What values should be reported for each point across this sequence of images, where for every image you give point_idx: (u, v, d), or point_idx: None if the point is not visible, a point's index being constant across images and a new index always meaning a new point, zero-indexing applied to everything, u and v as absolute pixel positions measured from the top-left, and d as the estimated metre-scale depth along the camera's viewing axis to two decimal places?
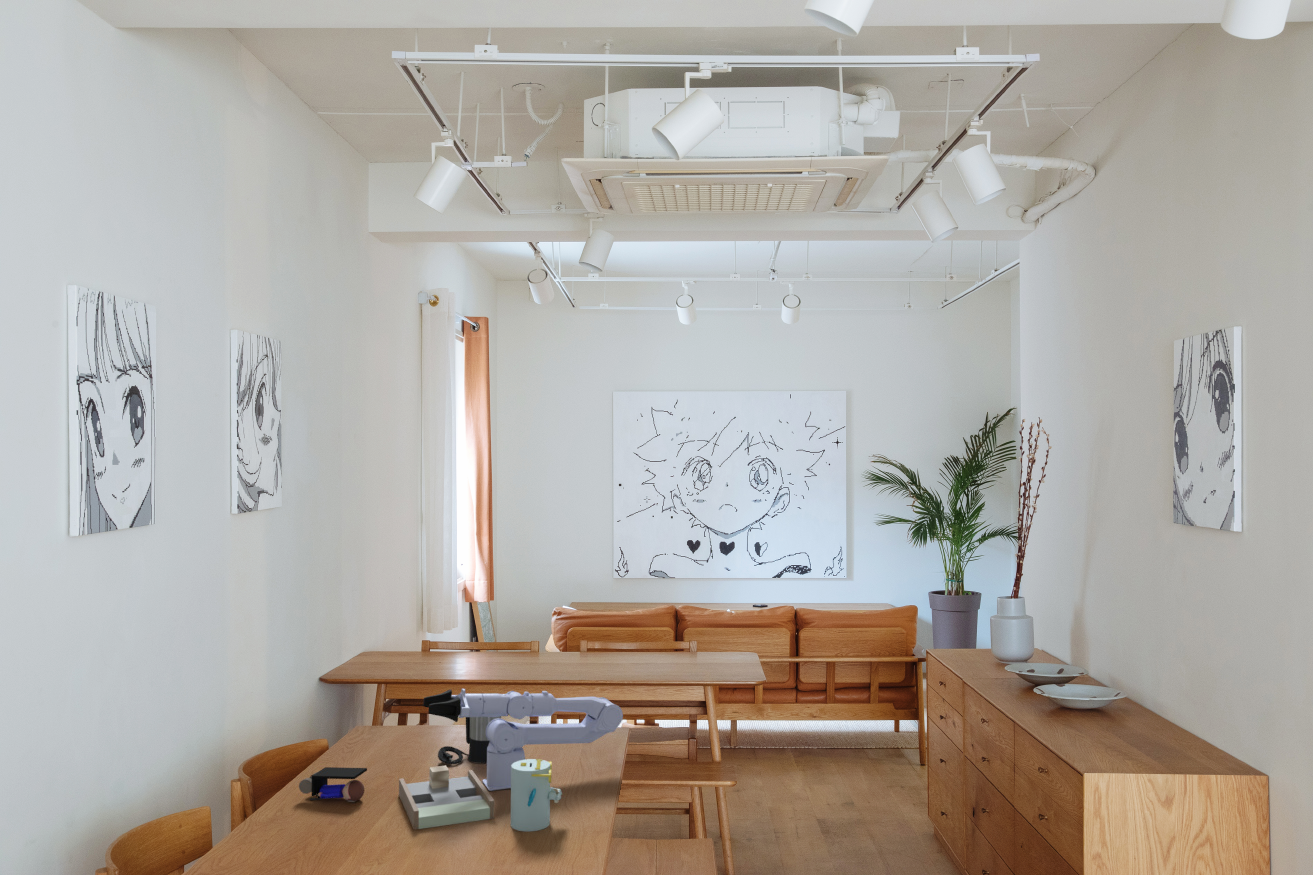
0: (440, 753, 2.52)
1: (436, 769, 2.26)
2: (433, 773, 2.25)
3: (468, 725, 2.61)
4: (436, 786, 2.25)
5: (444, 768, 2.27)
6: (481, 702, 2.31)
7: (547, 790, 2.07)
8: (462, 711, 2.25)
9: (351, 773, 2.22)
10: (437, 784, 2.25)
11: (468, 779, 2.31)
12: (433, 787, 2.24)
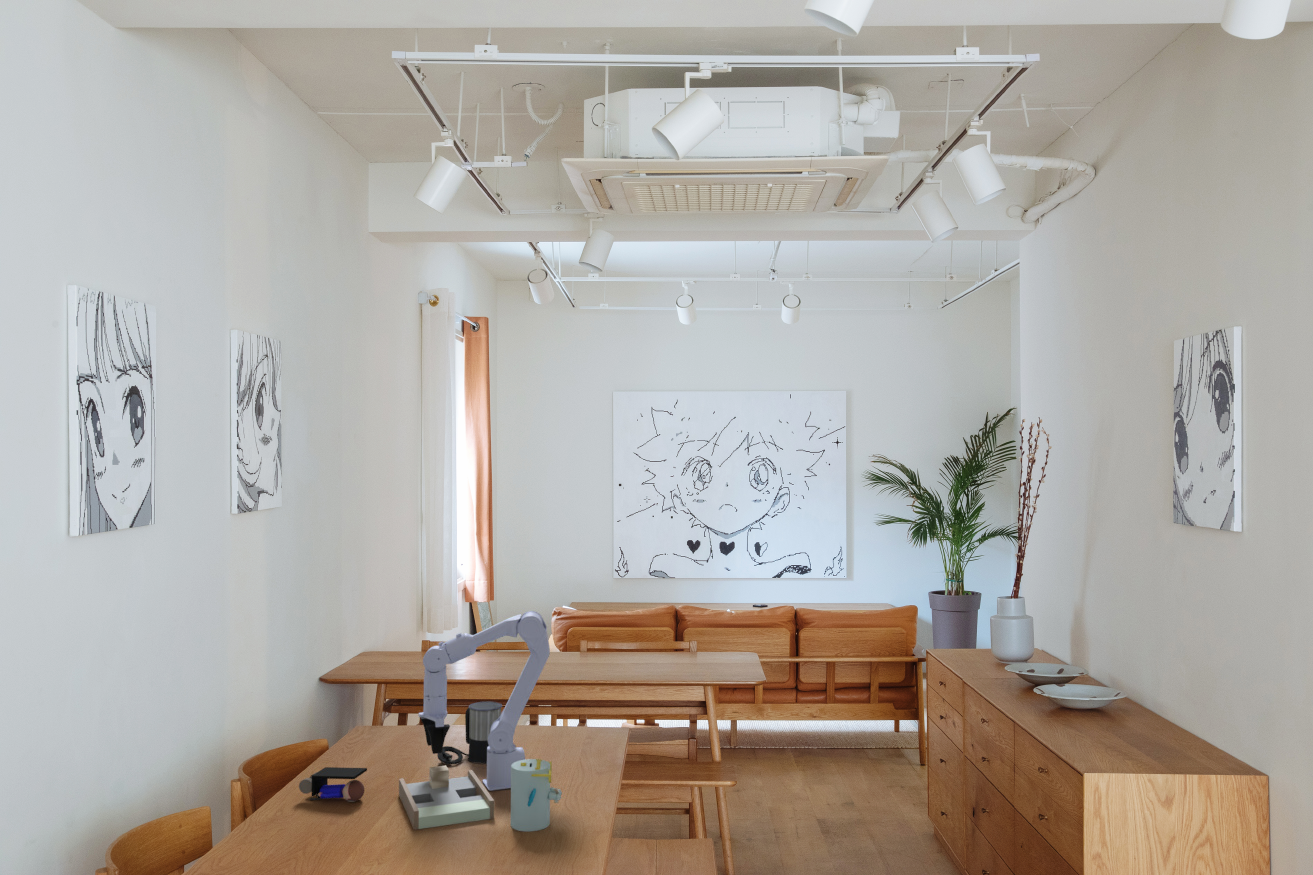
0: (440, 753, 2.52)
1: (436, 769, 2.26)
2: (433, 773, 2.25)
3: (468, 725, 2.61)
4: (436, 786, 2.25)
5: (444, 768, 2.27)
6: (432, 698, 2.31)
7: (547, 790, 2.07)
8: (439, 725, 2.27)
9: (351, 773, 2.22)
10: (437, 784, 2.25)
11: (468, 779, 2.31)
12: (433, 787, 2.24)
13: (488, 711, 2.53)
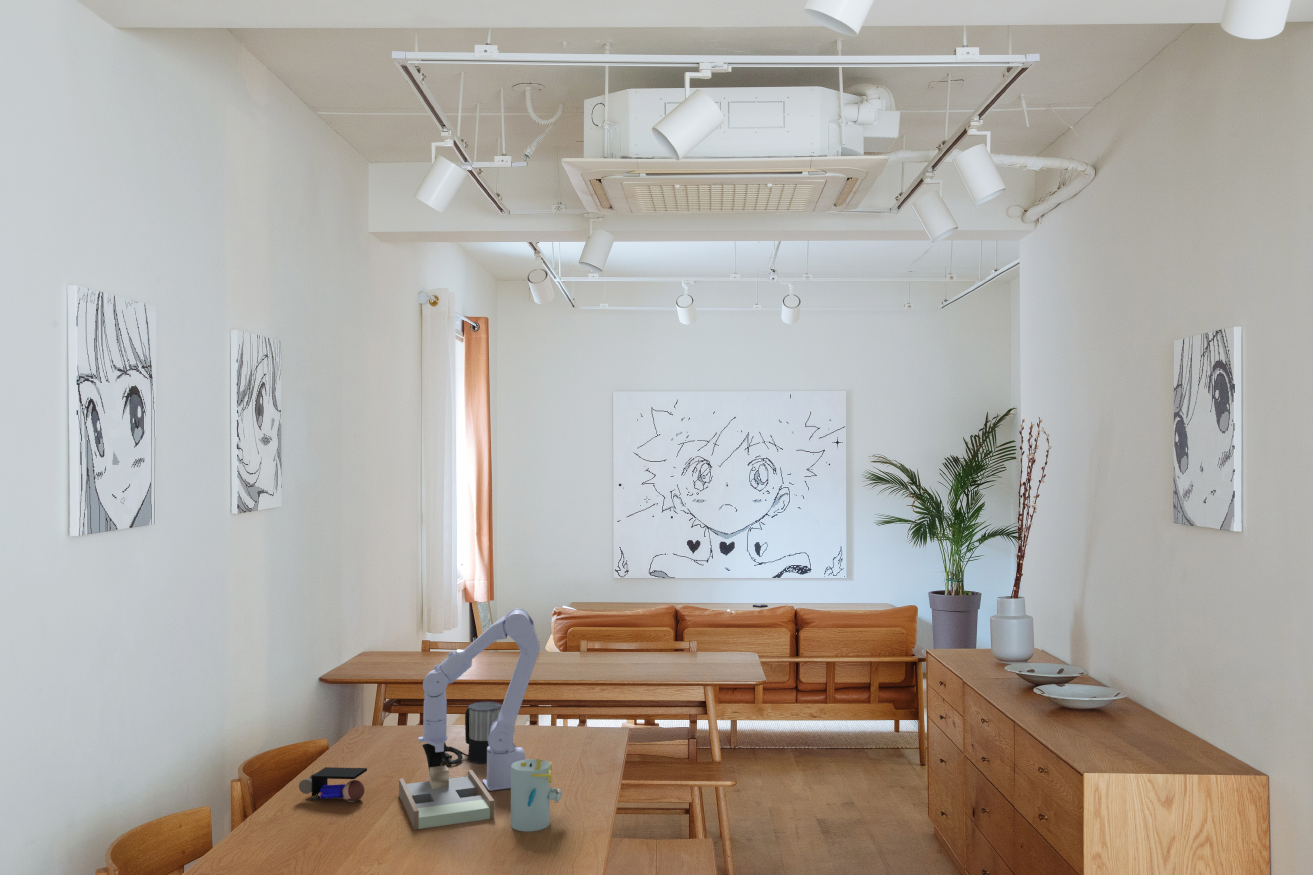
0: None
1: (436, 769, 2.26)
2: (433, 773, 2.25)
3: (467, 725, 2.61)
4: (436, 786, 2.25)
5: (444, 768, 2.27)
6: (431, 723, 2.31)
7: (547, 790, 2.07)
8: (439, 750, 2.27)
9: (351, 773, 2.22)
10: (437, 784, 2.25)
11: (468, 779, 2.31)
12: (433, 787, 2.24)
13: (488, 711, 2.53)
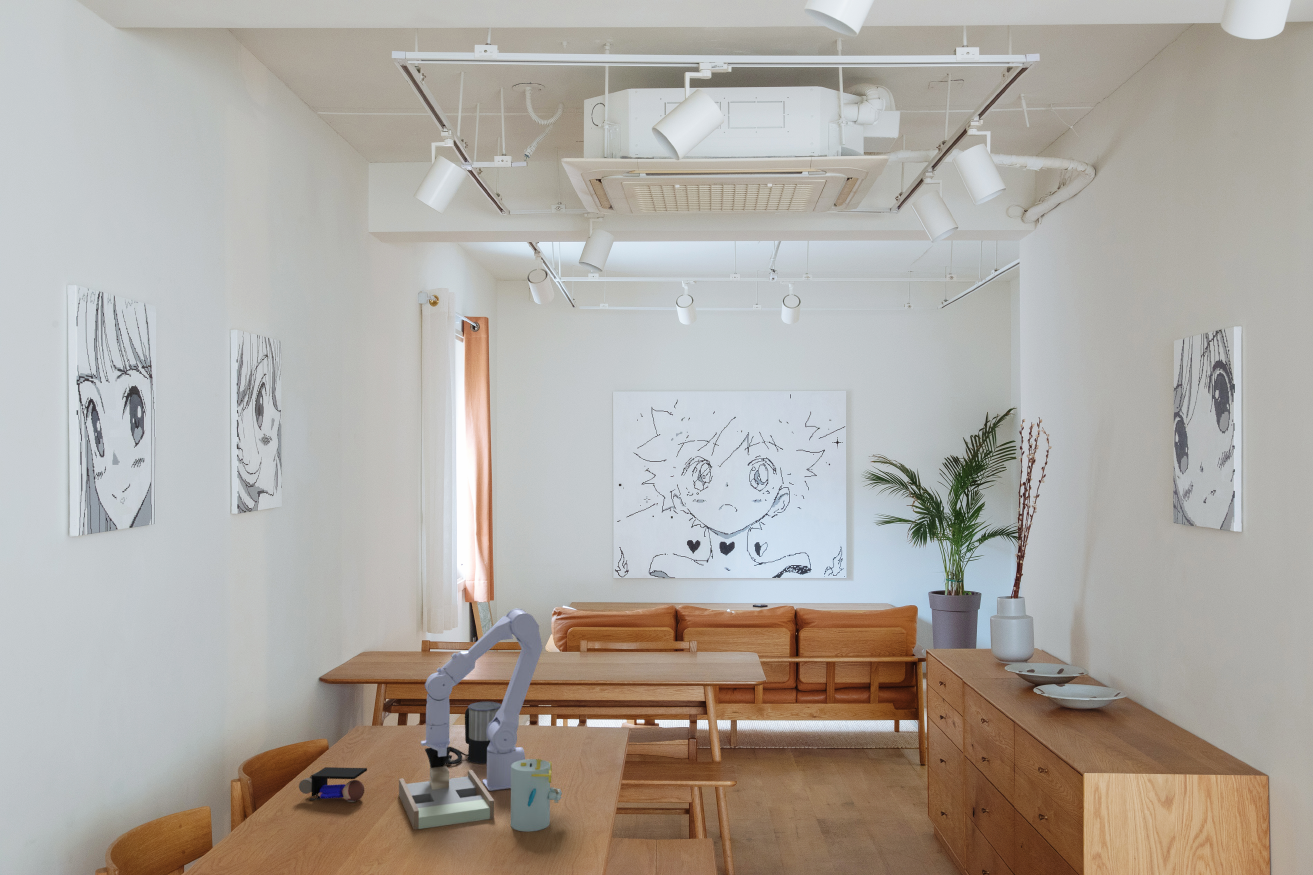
0: None
1: (436, 770, 2.26)
2: (433, 774, 2.24)
3: (467, 725, 2.61)
4: (436, 787, 2.24)
5: (445, 768, 2.27)
6: (434, 727, 2.27)
7: (547, 790, 2.07)
8: (442, 755, 2.23)
9: (351, 773, 2.22)
10: (437, 785, 2.24)
11: (468, 779, 2.31)
12: (433, 788, 2.24)
13: (488, 711, 2.53)
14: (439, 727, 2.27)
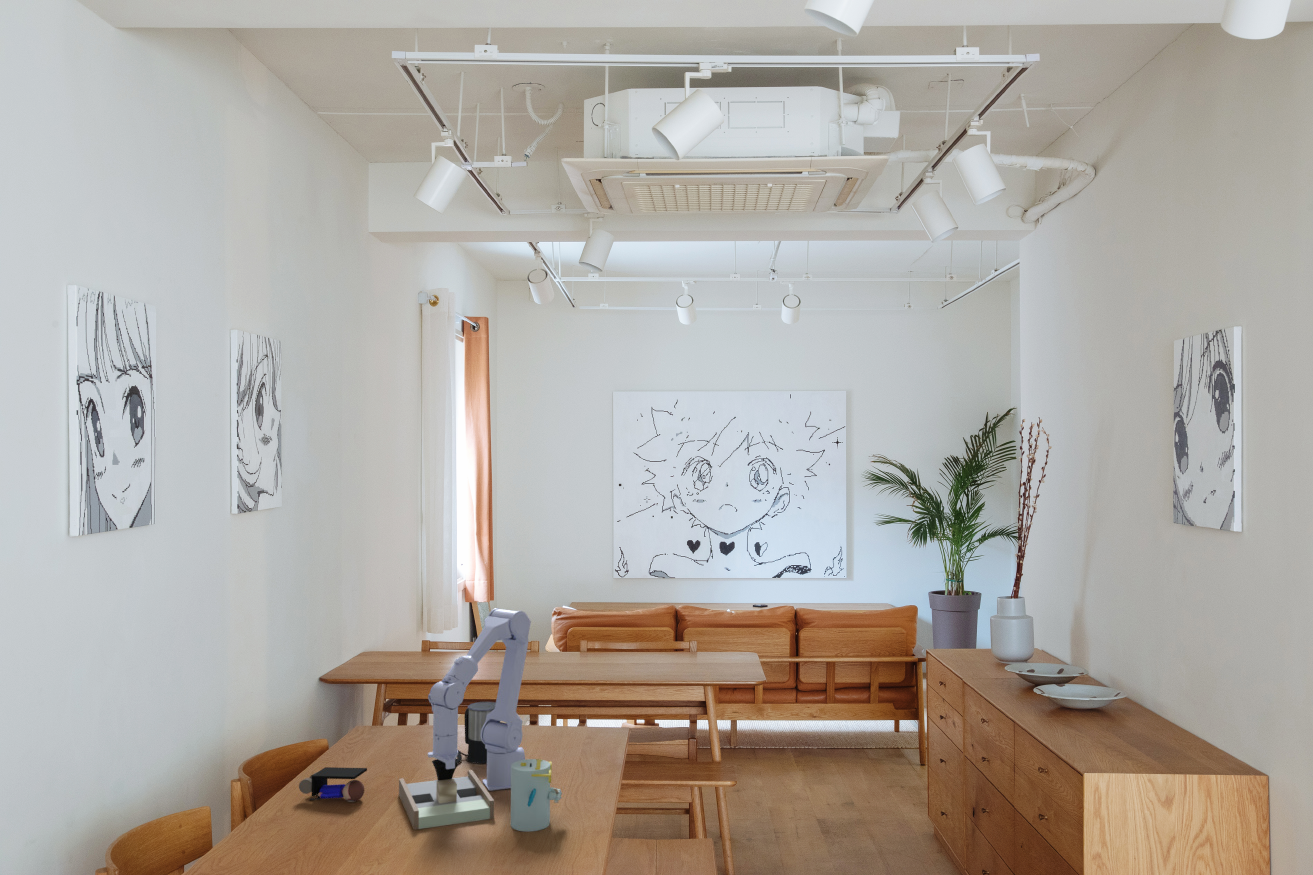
0: None
1: (443, 783, 2.16)
2: (440, 787, 2.14)
3: (467, 725, 2.61)
4: (443, 801, 2.15)
5: (452, 781, 2.17)
6: (442, 738, 2.18)
7: (547, 790, 2.07)
8: (450, 767, 2.14)
9: (351, 773, 2.22)
10: (444, 798, 2.15)
11: (468, 779, 2.31)
12: (440, 802, 2.14)
13: (487, 711, 2.53)
14: (447, 738, 2.18)
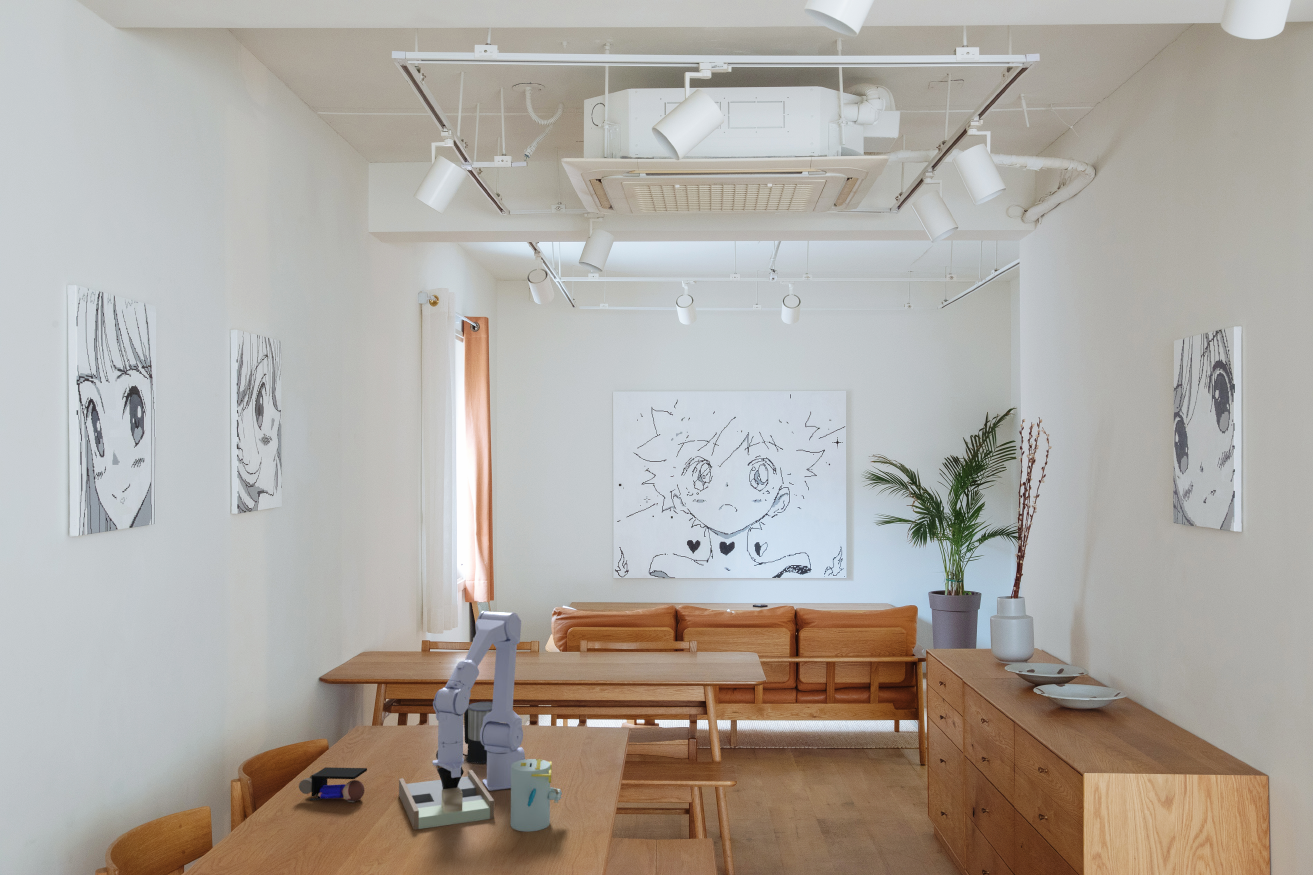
0: None
1: (449, 792, 2.10)
2: (445, 796, 2.08)
3: (466, 725, 2.61)
4: (449, 810, 2.09)
5: (457, 790, 2.11)
6: (447, 745, 2.12)
7: (547, 790, 2.07)
8: (455, 776, 2.08)
9: (351, 773, 2.22)
10: (449, 808, 2.09)
11: (468, 779, 2.31)
12: (445, 811, 2.08)
13: (487, 711, 2.52)
14: (452, 745, 2.12)
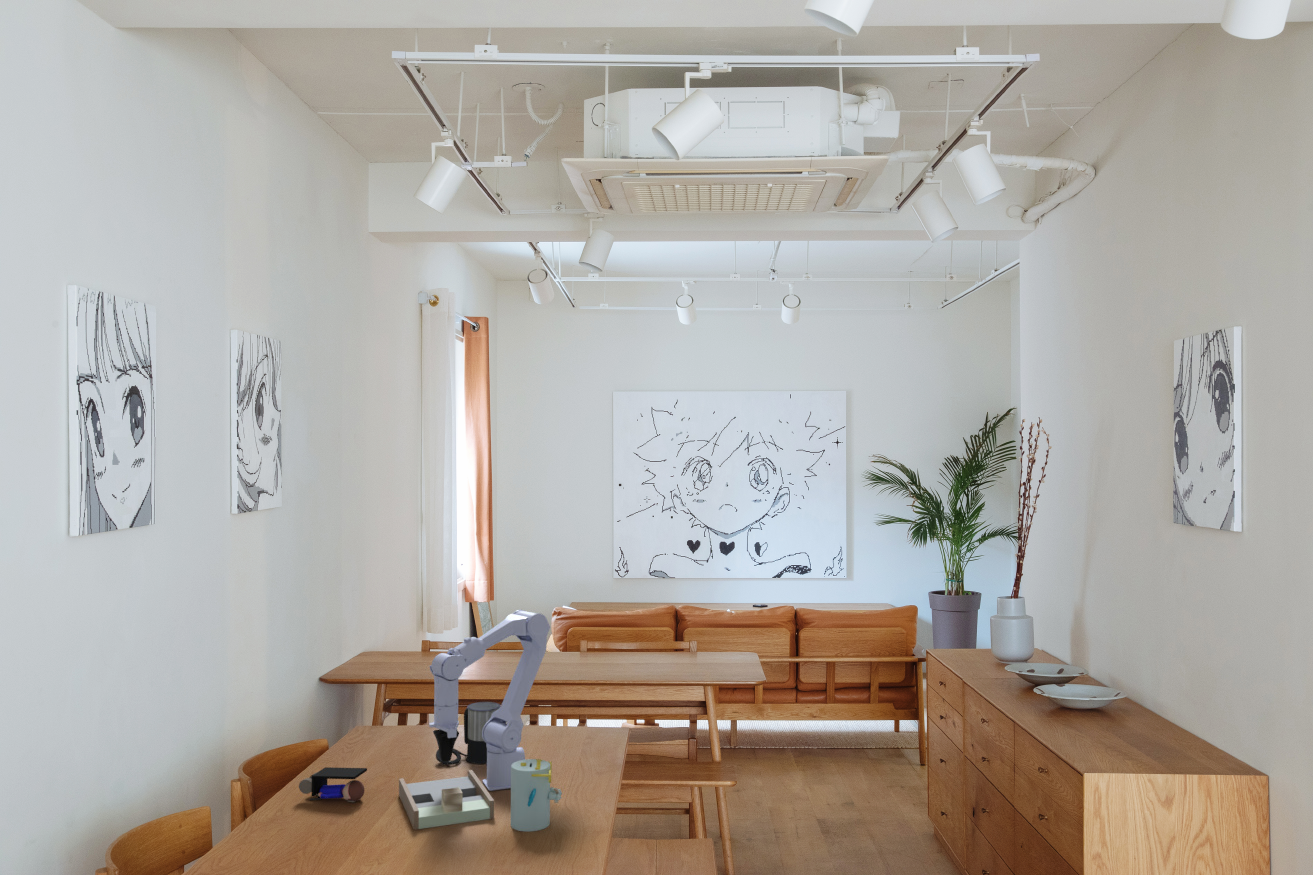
0: (438, 753, 2.52)
1: (449, 792, 2.10)
2: (446, 796, 2.08)
3: (466, 725, 2.61)
4: (449, 810, 2.09)
5: (457, 790, 2.11)
6: (443, 708, 2.22)
7: (547, 790, 2.07)
8: (451, 736, 2.18)
9: (351, 773, 2.22)
10: (449, 808, 2.09)
11: (468, 779, 2.31)
12: (446, 811, 2.08)
13: (487, 711, 2.52)
14: (448, 708, 2.23)
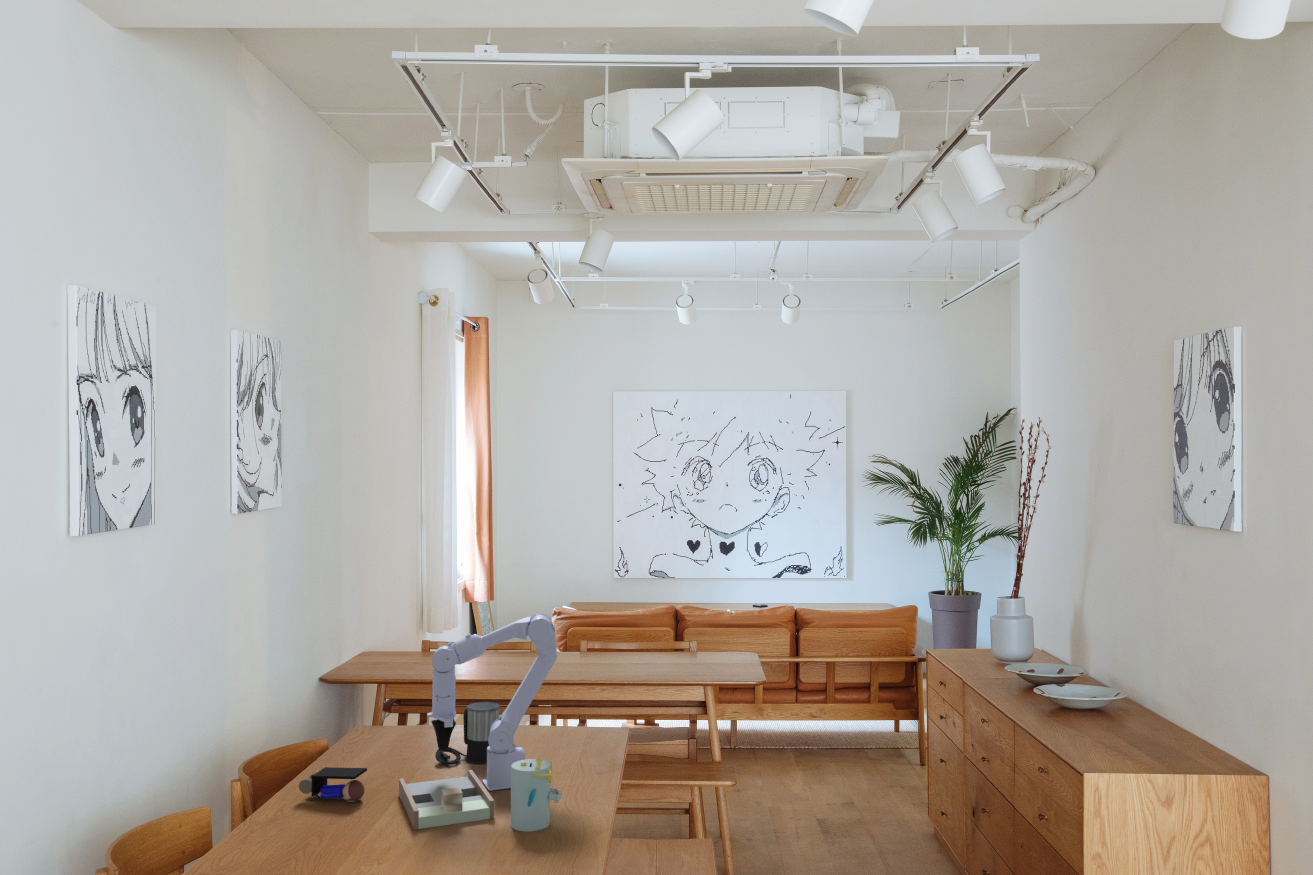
0: (438, 754, 2.52)
1: (449, 792, 2.10)
2: (446, 796, 2.08)
3: (466, 725, 2.61)
4: (449, 810, 2.09)
5: (457, 790, 2.11)
6: (440, 699, 2.31)
7: (547, 790, 2.07)
8: (448, 726, 2.27)
9: (351, 773, 2.22)
10: (449, 808, 2.09)
11: (468, 779, 2.31)
12: (446, 811, 2.08)
13: (486, 711, 2.52)
14: (445, 699, 2.31)
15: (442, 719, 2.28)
